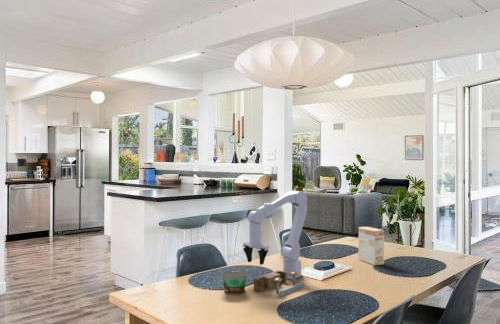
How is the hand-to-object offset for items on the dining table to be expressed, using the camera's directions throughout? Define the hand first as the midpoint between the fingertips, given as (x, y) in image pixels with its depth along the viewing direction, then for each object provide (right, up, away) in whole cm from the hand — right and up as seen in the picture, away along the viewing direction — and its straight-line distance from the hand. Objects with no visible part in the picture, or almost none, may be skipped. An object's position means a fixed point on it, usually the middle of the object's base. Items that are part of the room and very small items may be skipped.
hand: (255, 263), depth 211 cm
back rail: (+17, -10, -14) cm, 24 cm away
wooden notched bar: (+7, -10, -6) cm, 13 cm away
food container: (-9, -10, -16) cm, 21 cm away
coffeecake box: (+67, -8, +38) cm, 78 cm away
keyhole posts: (+14, -10, -11) cm, 20 cm away
